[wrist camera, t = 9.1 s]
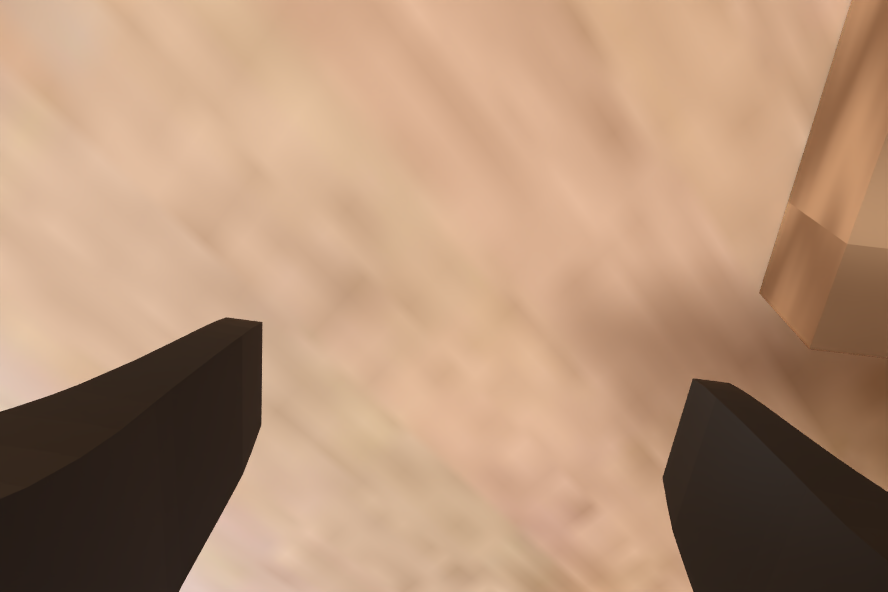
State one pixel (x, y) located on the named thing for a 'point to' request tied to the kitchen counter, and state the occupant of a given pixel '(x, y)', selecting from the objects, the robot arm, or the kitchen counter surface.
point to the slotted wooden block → (841, 203)
